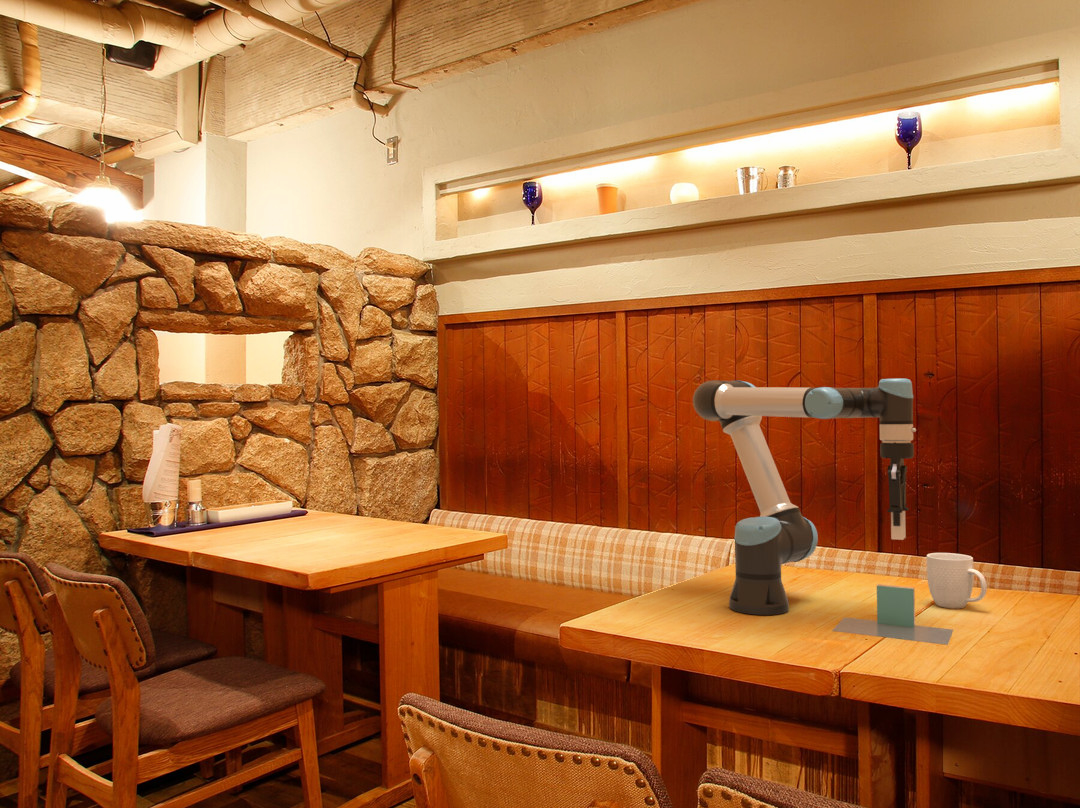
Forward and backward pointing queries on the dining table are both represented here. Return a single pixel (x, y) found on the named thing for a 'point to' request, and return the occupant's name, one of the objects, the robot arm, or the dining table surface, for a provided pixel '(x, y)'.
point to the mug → (952, 579)
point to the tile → (896, 605)
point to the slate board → (894, 631)
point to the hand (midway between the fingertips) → (898, 538)
